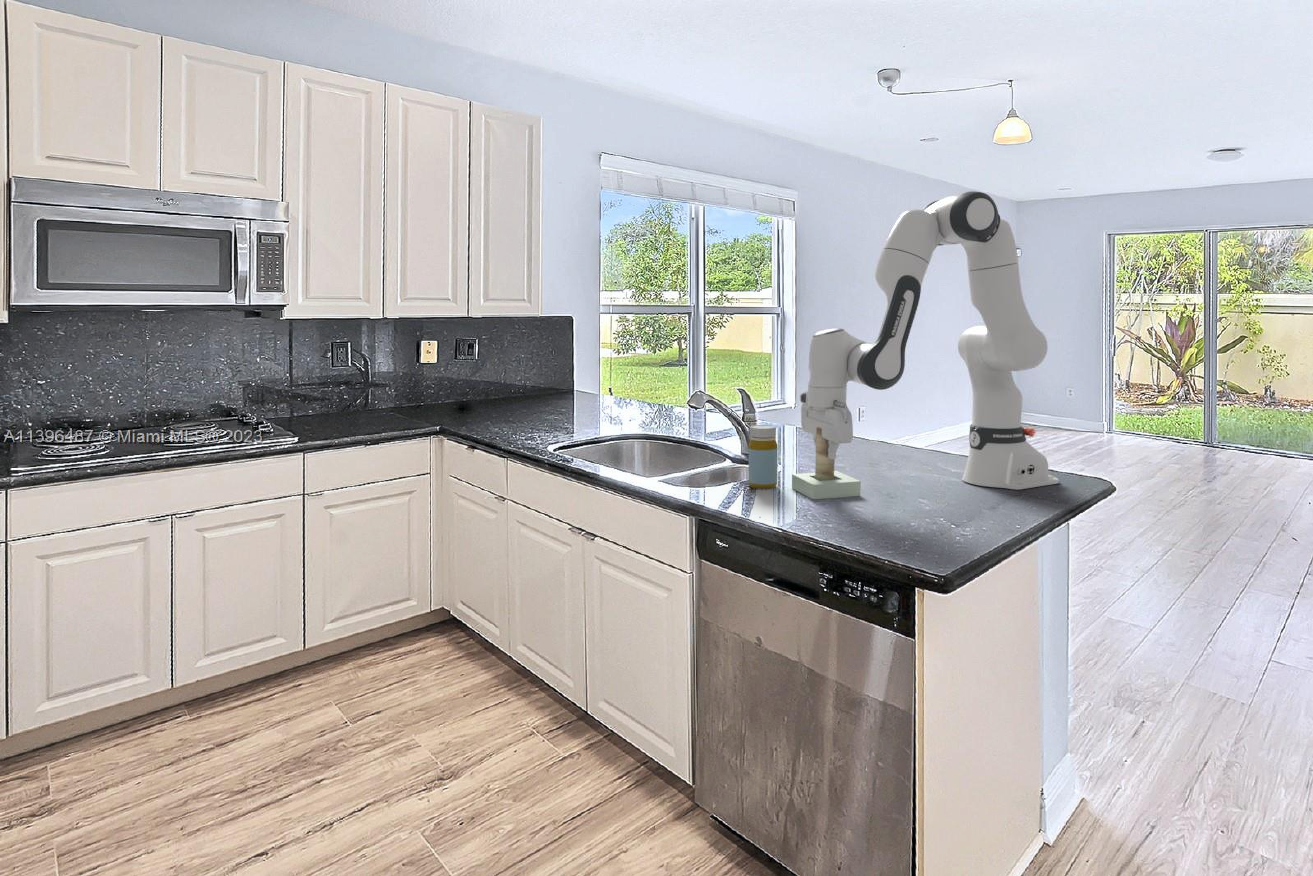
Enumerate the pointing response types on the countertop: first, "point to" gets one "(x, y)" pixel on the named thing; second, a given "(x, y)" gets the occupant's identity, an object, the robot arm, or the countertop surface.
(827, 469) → the peg
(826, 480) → the socket
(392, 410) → the countertop surface
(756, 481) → the bottle
